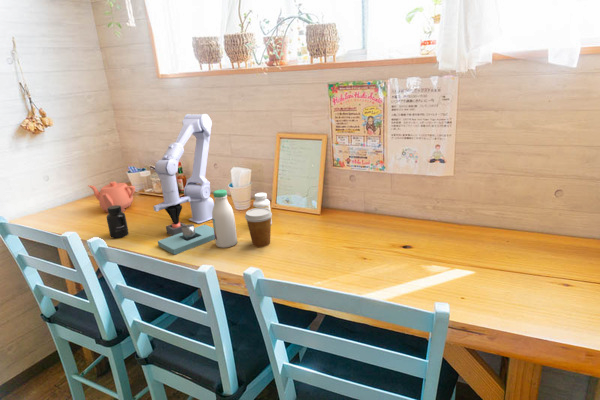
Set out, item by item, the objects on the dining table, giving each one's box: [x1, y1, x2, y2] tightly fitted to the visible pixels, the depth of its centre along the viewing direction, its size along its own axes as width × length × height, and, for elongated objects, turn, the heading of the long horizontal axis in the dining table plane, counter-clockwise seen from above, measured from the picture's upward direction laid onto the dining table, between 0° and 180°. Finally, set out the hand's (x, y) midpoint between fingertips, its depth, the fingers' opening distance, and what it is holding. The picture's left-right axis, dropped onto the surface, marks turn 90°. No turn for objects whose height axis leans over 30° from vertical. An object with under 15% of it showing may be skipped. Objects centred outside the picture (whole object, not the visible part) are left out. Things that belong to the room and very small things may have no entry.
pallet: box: [157, 224, 215, 256], centre depth 152 cm, size 20×12×2 cm, turn 135°
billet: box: [182, 223, 196, 241], centre depth 151 cm, size 4×4×6 cm
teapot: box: [88, 181, 136, 214], centre depth 193 cm, size 16×17×14 cm
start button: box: [171, 221, 181, 228], centre depth 160 cm, size 3×3×4 cm
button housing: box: [165, 221, 187, 237], centre depth 160 cm, size 6×6×3 cm
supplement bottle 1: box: [106, 205, 129, 239], centre depth 160 cm, size 7×7×12 cm
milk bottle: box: [211, 189, 238, 249], centre depth 144 cm, size 8×8×20 cm
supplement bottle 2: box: [252, 192, 273, 225], centre depth 161 cm, size 7×7×13 cm
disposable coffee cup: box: [244, 207, 273, 248], centre depth 144 cm, size 10×10×12 cm
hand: (175, 223), depth 160 cm, fingers closed, pressing on start button
